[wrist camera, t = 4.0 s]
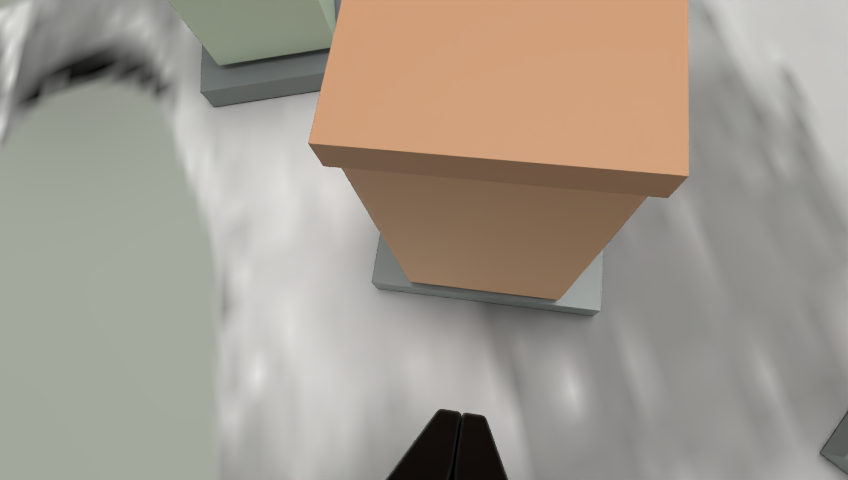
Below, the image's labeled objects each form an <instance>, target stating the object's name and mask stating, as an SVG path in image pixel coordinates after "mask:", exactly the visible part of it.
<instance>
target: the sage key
mask: <svg viewBox="0 0 848 480" xmlns="http://www.w3.org/2000/svg"><path fill="white" fill-rule="evenodd" d="M168 1H169V3H170V4H171V5H172V7H173V8H174V9H175V10H176V12H177V13H178V14H179V15H180V17H181V18H182V19H183V21H184V22H185V23H186V24H187V26H188V27H189V28H190V29H191V31H192V32H193V33H194V35H195V36H196V37H197V38H198V40H199V41H200V42H201V43H202V45H203V46H204V47H205V49H206V50H207V51H208V52H209V54H210V55H211V56H212V57H213V59H214V60H215V61H216V63H217V64H218V65H226V64H232V63H238V62H244V61H250V60H257V59H263V58H269V57H275V56H282V55H288V54H294V53H300V52H306V51H313V50H319V49H325V48H331V44H332V40H333V36H334V31H335V27H336V19H335V4H334V0H168Z"/></svg>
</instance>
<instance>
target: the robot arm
mask: <svg viewBox="0 0 848 480" xmlns="http://www.w3.org/2000/svg"><path fill="white" fill-rule="evenodd" d="M386 480H508V478H507V475H506V472H505V470H504V467H503V464H502V461H501V458H500V456H499V453H498V450H497V447H496V444H495V442H494V439H493V436H492V433H491V430H490V428H489V425H488V422H487V420H486V418H485V417H484V416H482V415H477V414H471V413H464V414H463V415H462V417H461V413H460V412H458V411H452V410H445V409H440V410H438V411H437V412H436V413H435V415H434V416H433V417H432V419H431V420H430V421H429V423H428V424H427V425H426V427H425V428H424V429H423V431H422V432H421V433H420V435H419V436H418V437H417V439H416V440H415V441H414V443H413V444H412V445H411V447H410V448H409V449H408V451H407V452H406V453H405V455H404V456H403V457H402V459H401V460H400V461H399V463H398V464H397V465H396V467H395V468H394V469H393V471H392V472H391V473H390V475H389V476H388V477H387V479H386Z"/></svg>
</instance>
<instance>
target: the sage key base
mask: <svg viewBox="0 0 848 480" xmlns="http://www.w3.org/2000/svg"><path fill="white" fill-rule="evenodd" d="M341 2H342V0H334V4H335V19H336V23H337V19H338V14H339V10H340V6H341ZM329 53H330V48H325V49H319V50H313V51H306V52H300V53H294V54H288V55H282V56H275V57H269V58H263V59H257V60H250V61H244V62H238V63H232V64H226V65H218V64H217V63H216V61H215V60H214V59H213V57H212V56H211V55H210V54H209V52H208V51H207V50H206V49H205V47H204V46H203V45H202V66H201V93H202V94H203V95H204V96H205V98H206V99H207V100H208V101H209V102H210V103H211V104H212V105H213V106H214V107H216V106H223V105H229V104H235V103H242V102H248V101H255V100H261V99H268V98H274V97H281V96H287V95H293V94H300V93H306V92H313V91H319V90H321V87H322V82H323V78H324V74H325V70H326V65H327V61H328V57H329Z"/></svg>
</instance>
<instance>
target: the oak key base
mask: <svg viewBox="0 0 848 480" xmlns="http://www.w3.org/2000/svg"><path fill="white" fill-rule="evenodd" d="M821 454H822V455H823V456H825V457H826V458H827V459H829V460H830V461H831V462H833V463H834V464H835V465H837V466H838V467H839V468H840V469H842V470H843V471H844V472H846V473H847V474H848V413H847V414H846V416H845V417H844V419H843V420H842V422H841V423H840V425H839V426H838V428H837V429H836V431H835V432H834V434H833V435H832V437H831V438H830V440H829V441H828V442H827V444H826V445H825V447H824V448H823V450H822V451H821Z"/></svg>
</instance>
